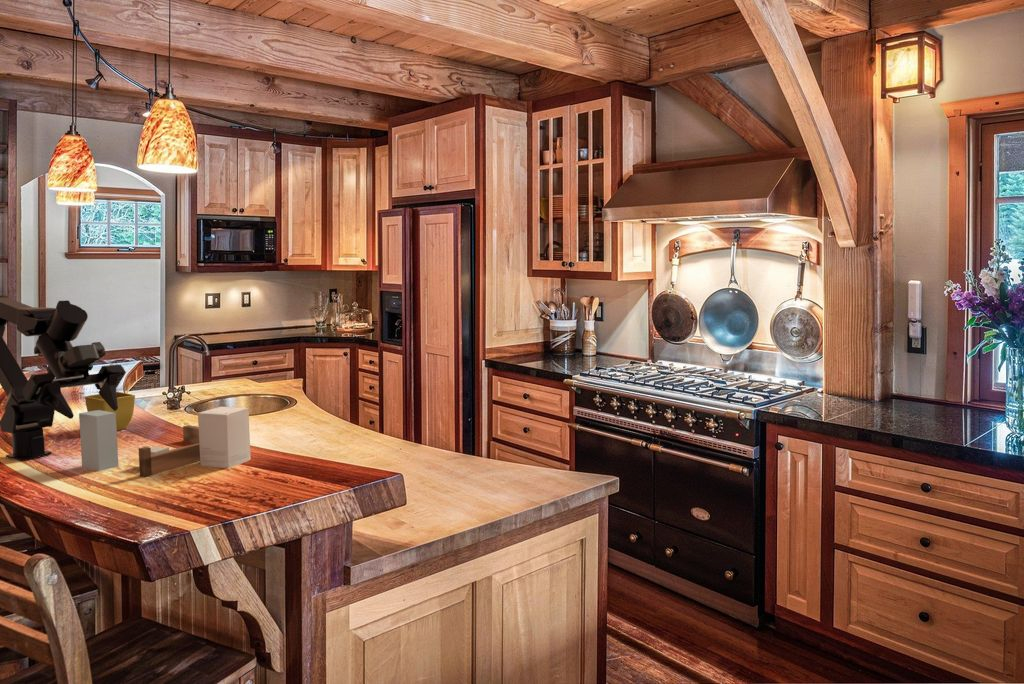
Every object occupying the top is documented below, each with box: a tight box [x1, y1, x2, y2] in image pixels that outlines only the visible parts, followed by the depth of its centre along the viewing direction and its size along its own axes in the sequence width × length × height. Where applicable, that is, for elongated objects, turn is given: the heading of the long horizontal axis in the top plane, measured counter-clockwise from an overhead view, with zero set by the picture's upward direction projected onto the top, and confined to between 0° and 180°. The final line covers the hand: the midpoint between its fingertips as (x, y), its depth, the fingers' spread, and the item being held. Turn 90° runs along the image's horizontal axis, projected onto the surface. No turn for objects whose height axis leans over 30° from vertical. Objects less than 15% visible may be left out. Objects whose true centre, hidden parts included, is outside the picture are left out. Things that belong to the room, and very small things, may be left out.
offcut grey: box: [149, 445, 170, 455], centre depth 152 cm, size 4×4×2 cm
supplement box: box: [197, 406, 252, 469], centre depth 155 cm, size 7×7×13 cm
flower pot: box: [84, 391, 136, 431], centre depth 191 cm, size 9×9×9 cm
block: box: [78, 410, 119, 472], centre depth 151 cm, size 6×4×12 cm, turn 60°
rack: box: [138, 424, 200, 478], centre depth 159 cm, size 18×26×7 cm
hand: (94, 413), depth 151 cm, fingers open, 9 cm apart
